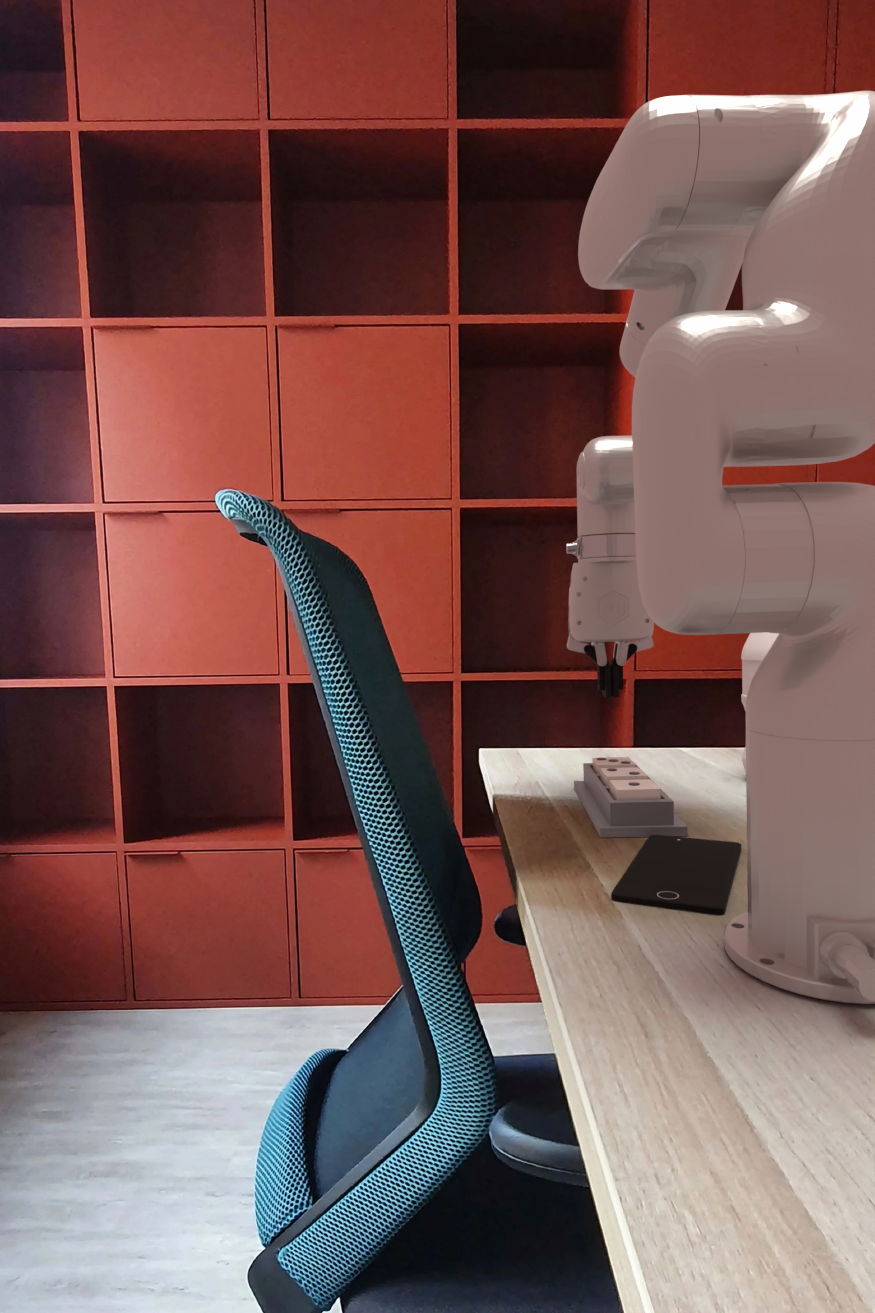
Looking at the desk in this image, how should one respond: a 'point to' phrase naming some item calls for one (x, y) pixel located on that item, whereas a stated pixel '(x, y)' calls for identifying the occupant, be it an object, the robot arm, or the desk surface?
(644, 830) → the tile tray
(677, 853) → the cell phone
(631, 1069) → the desk surface
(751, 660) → the water bottle
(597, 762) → the tile three
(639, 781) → the tile one
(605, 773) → the tile two
